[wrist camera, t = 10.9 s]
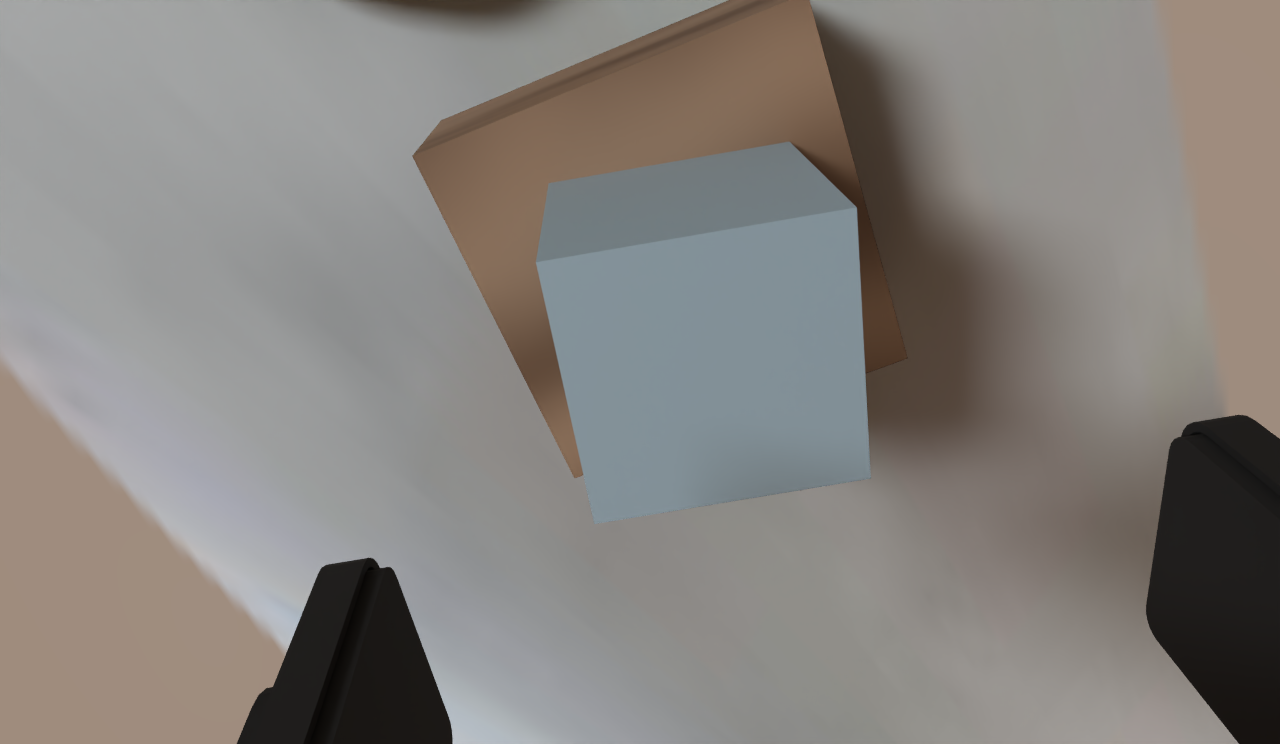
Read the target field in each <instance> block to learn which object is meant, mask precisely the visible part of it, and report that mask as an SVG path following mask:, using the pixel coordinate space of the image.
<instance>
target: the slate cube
mask: <svg viewBox="0 0 1280 744" xmlns="http://www.w3.org/2000/svg"><path fill="white" fill-rule="evenodd" d="M536 265H537V270H538V274H539V279H540V283H541V288H542V292H543V296H544V301H545V305H546V310H547V314H548V319H549V323H550V328H551V332H552V337H553V341H554V346H555V350H556V355H557V359H558V363H559V368H560V372H561V377H562V381H563V386H564V390H565V395H566V399H567V404H568V408H569V413H570V417H571V422H572V426H573V431H574V435H575V439H576V444H577V448H578V453H579V457H580V462H581V466H582V471H583V475H584V480H585V484H586V489H587V493H588V498H589V502H590V506H591V511H592V515H593V520H594V524H597V523H603V522H609V521H615V520H621V519H627V518H634V517H640V516H646V515H652V514H658V513H664V512H670V511H676V510H682V509H688V508H694V507H700V506H707V505H713V504H719V503H725V502H731V501H737V500H743V499H749V498H755V497H761V496H767V495H773V494H780V493H786V492H792V491H798V490H804V489H810V488H816V487H822V486H828V485H834V484H840V483H846V482H853V481H859V480H865V479H871V475H870V455H869V436H868V416H867V397H866V378H865V358H864V339H863V319H862V300H861V280H860V261H859V242H858V222H857V207H856V206H855V205H854V204H853V203H852V202H851V201H850V200H849V199H848V198H847V197H846V196H845V195H844V194H843V193H842V192H840V191H839V190H838V189H837V188H836V187H835V186H834V185H833V184H832V183H831V182H830V181H829V180H828V179H827V178H826V177H825V176H824V175H823V174H822V173H821V172H820V171H819V170H818V169H817V168H816V167H815V166H814V165H813V164H812V163H811V162H810V161H809V160H808V159H807V158H806V157H805V156H804V155H803V154H802V153H801V152H800V151H799V150H798V149H797V148H795V147H794V146H793V145H792V144H791V143H790V142H784V143H778V144H772V145H767V146H761V147H755V148H749V149H744V150H738V151H732V152H726V153H720V154H715V155H709V156H703V157H697V158H692V159H686V160H680V161H674V162H668V163H663V164H657V165H651V166H645V167H640V168H634V169H628V170H622V171H616V172H611V173H605V174H599V175H593V176H588V177H582V178H576V179H570V180H564V181H559V182H553V183H549V184H548V190H547V196H546V203H545V209H544V215H543V221H542V227H541V234H540V240H539V246H538V252H537V258H536Z"/></svg>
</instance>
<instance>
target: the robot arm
mask: <svg viewBox="0 0 1280 744" xmlns="http://www.w3.org/2000/svg"><path fill="white" fill-rule="evenodd" d="M1146 615H1147V620H1148V623H1149V627H1150V629H1151V631H1152V633H1153V635H1154V637H1155V638H1156V640H1157V641H1158V642H1159V644H1160V645H1161V646H1162V647H1163V649H1164V650H1165V651H1166V652H1167V654H1168V655H1169V656H1170V657H1171V659H1172V660H1173V661H1174V662H1175V664H1176V665H1177V666H1178V667H1179V669H1180V670H1181V671H1182V672H1183V674H1184V675H1185V676H1186V678H1187V679H1188V680H1189V681H1190V683H1191V684H1192V685H1193V686H1194V688H1195V689H1196V690H1197V691H1198V693H1199V694H1200V695H1201V696H1202V698H1203V699H1204V700H1205V701H1206V703H1207V704H1208V705H1209V706H1210V708H1211V709H1212V710H1213V711H1214V713H1215V714H1216V715H1217V717H1218V718H1219V719H1220V720H1221V722H1222V723H1223V724H1224V725H1225V727H1226V728H1227V729H1228V730H1229V732H1230V733H1231V734H1232V735H1233V737H1234V738H1235V739H1236V740H1237V742H1238V743H1239V744H1280V439H1279V438H1278V437H1276V436H1275V435H1274V434H1272V433H1271V432H1270V431H1268V430H1267V429H1266V428H1264V427H1263V426H1262V425H1260V424H1259V423H1258V422H1256V421H1255V420H1253V419H1251V418H1249V417H1248V416H1244V415H1235V416H1229V417H1223V418H1217V419H1211V420H1205V421H1199V422H1193V423H1191V424H1189V425H1187V426H1186V428H1185V429H1184V430H1183V433H1182V436H1181V437H1178V438H1176V439H1174V440H1173V442H1172V443H1171V446H1170V449H1169V455H1168V462H1167V469H1166V475H1165V482H1164V489H1163V496H1162V503H1161V509H1160V516H1159V523H1158V530H1157V536H1156V543H1155V550H1154V557H1153V564H1152V570H1151V577H1150V584H1149V591H1148V597H1147V604H1146ZM237 744H452V729H451V724H450V720H449V717H448V714H447V711H446V709H445V706H444V703H443V701H442V698H441V695H440V693H439V690H438V687H437V684H436V682H435V679H434V676H433V674H432V671H431V668H430V666H429V663H428V660H427V657H426V655H425V652H424V649H423V647H422V644H421V641H420V639H419V636H418V633H417V631H416V628H415V625H414V622H413V620H412V617H411V614H410V612H409V609H408V606H407V604H406V601H405V598H404V595H403V593H402V590H401V587H400V585H399V582H398V579H397V577H396V574H395V572H394V571H393V569H392V568H390V567H386V568H380V567H379V565H378V563H377V562H376V561H375V560H374V559H372V558H366V559H359V560H353V561H347V562H341V563H335V564H329V565H325V566H324V567H322V568H321V570H320V572H319V573H318V576H317V578H316V581H315V583H314V586H313V588H312V591H311V593H310V596H309V598H308V601H307V603H306V606H305V608H304V611H303V613H302V616H301V618H300V621H299V623H298V626H297V628H296V631H295V633H294V636H293V638H292V641H291V643H290V646H289V648H288V651H287V653H286V656H285V658H284V661H283V663H282V666H281V668H280V671H279V674H278V676H277V679H276V681H275V683H274V686H273V687H271V688H266V689H265V690H264V691H263V692H262V693H261V694H259V696H258V697H257V699H256V701H255V703H254V705H253V706H252V708H251V711H250V713H249V716H248V718H247V720H246V723H245V725H244V728H243V730H242V733H241V735H240V737H239V740H238V742H237Z"/></svg>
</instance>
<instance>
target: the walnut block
mask: <svg viewBox="0 0 1280 744" xmlns="http://www.w3.org/2000/svg"><path fill="white" fill-rule="evenodd" d="M784 142H790V143H791V144H792V145H793V146H794V147H795V148H797V149H798V150H799V151H800V152H801V153H802V154H803V155H804V156H805V157H806V158H807V159H808V160H809V161H810V162H811V163H812V164H813V165H814V166H815V167H816V168H817V169H818V170H819V171H820V172H821V173H822V174H823V175H824V176H825V177H826V178H827V179H828V180H829V181H830V182H831V183H832V184H833V185H834V186H835V187H836V188H837V189H838V190H839V191H840V192H842V193H843V194H844V195H845V196H846V197H847V198H848V199H849V200H850V201H851V202H852V203H853V204H854V205H855V206H856V207H857V222H858V242H859V261H860V280H861V300H862V319H863V339H864V358H865V374H866V373H868V372H871V371H874V370H877V369H879V368H882V367H885V366H888V365H891V364H893V363H896V362H899V361H902V360H904V359H907V354H906V350H905V347H904V343H903V340H902V336H901V332H900V329H899V325H898V321H897V318H896V314H895V310H894V307H893V303H892V299H891V296H890V292H889V289H888V285H887V281H886V278H885V274H884V270H883V267H882V263H881V259H880V256H879V252H878V248H877V245H876V241H875V238H874V234H873V230H872V227H871V223H870V219H869V216H868V212H867V208H866V205H865V201H864V198H863V194H862V190H861V187H860V183H859V179H858V176H857V172H856V168H855V165H854V161H853V157H852V154H851V150H850V147H849V143H848V139H847V136H846V132H845V128H844V125H843V121H842V117H841V114H840V110H839V107H838V103H837V99H836V96H835V92H834V88H833V85H832V81H831V77H830V74H829V70H828V66H827V63H826V59H825V56H824V52H823V48H822V45H821V41H820V37H819V34H818V30H817V26H816V23H815V19H814V15H813V12H812V8H811V5H810V1H809V0H728V1H726V2H724V3H721V4H719V5H717V6H714V7H712V8H709V9H707V10H705V11H702V12H700V13H697V14H695V15H693V16H690V17H688V18H685V19H683V20H681V21H678V22H676V23H673V24H671V25H669V26H666V27H664V28H661V29H659V30H657V31H654V32H652V33H649V34H647V35H645V36H642V37H640V38H638V39H635V40H633V41H630V42H628V43H626V44H623V45H621V46H618V47H616V48H614V49H611V50H609V51H606V52H604V53H602V54H599V55H597V56H594V57H592V58H590V59H587V60H585V61H582V62H580V63H578V64H575V65H573V66H570V67H568V68H566V69H563V70H561V71H559V72H556V73H554V74H551V75H549V76H547V77H544V78H542V79H539V80H537V81H535V82H532V83H530V84H527V85H525V86H523V87H520V88H518V89H515V90H513V91H511V92H508V93H506V94H503V95H501V96H499V97H496V98H494V99H491V100H489V101H487V102H484V103H482V104H479V105H477V106H475V107H472V108H470V109H468V110H465V111H463V112H460V113H458V114H456V115H453V116H451V117H448V118H446V119H444V120H441V121H440V123H439V124H438V125H437V126H436V128H435V129H434V130H433V131H432V132H431V134H430V135H429V136H428V137H427V139H426V140H425V141H424V142H423V144H422V145H421V146H420V147H419V149H418V150H417V151H416V152H415V153H414V155H413V158H414V160H415V162H416V164H417V166H418V168H419V170H420V172H421V174H422V176H423V178H424V180H425V182H426V184H427V186H428V188H429V190H430V192H431V194H432V196H433V198H434V200H435V202H436V204H437V206H438V208H439V210H440V212H441V214H442V216H443V218H444V220H445V222H446V224H447V226H448V228H449V230H450V232H451V234H452V236H453V238H454V240H455V242H456V244H457V246H458V248H459V250H460V252H461V254H462V256H463V258H464V260H465V262H466V264H467V266H468V268H469V270H470V272H471V274H472V276H473V278H474V279H475V281H476V283H477V285H478V287H479V289H480V291H481V293H482V295H483V297H484V299H485V301H486V303H487V305H488V307H489V309H490V311H491V313H492V315H493V317H494V319H495V321H496V323H497V325H498V327H499V329H500V331H501V333H502V335H503V337H504V339H505V341H506V343H507V345H508V347H509V349H510V351H511V353H512V355H513V357H514V359H515V361H516V363H517V365H518V367H519V369H520V371H521V373H522V375H523V377H524V379H525V381H526V383H527V385H528V387H529V389H530V391H531V393H532V395H533V397H534V399H535V401H536V403H537V405H538V407H539V409H540V411H541V412H542V414H543V416H544V418H545V420H546V422H547V424H548V426H549V428H550V430H551V432H552V434H553V436H554V438H555V440H556V442H557V444H558V446H559V448H560V450H561V452H562V454H563V456H564V458H565V460H566V462H567V464H568V466H569V468H570V470H571V472H572V474H573V476H574V478H577V477H579V476H582V475H583V471H582V466H581V462H580V457H579V453H578V448H577V444H576V439H575V435H574V431H573V426H572V422H571V417H570V413H569V408H568V404H567V399H566V395H565V390H564V386H563V381H562V377H561V372H560V368H559V363H558V359H557V355H556V350H555V346H554V341H553V337H552V332H551V328H550V323H549V319H548V314H547V310H546V305H545V301H544V296H543V292H542V288H541V283H540V279H539V274H538V270H537V265H536V258H537V252H538V246H539V240H540V234H541V227H542V221H543V215H544V209H545V203H546V196H547V190H548V184H549V183H553V182H559V181H564V180H570V179H576V178H582V177H588V176H593V175H599V174H605V173H611V172H616V171H622V170H628V169H634V168H640V167H645V166H651V165H657V164H663V163H668V162H674V161H680V160H686V159H692V158H697V157H703V156H709V155H715V154H720V153H726V152H732V151H738V150H744V149H749V148H755V147H761V146H767V145H772V144H778V143H784Z"/></svg>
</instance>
